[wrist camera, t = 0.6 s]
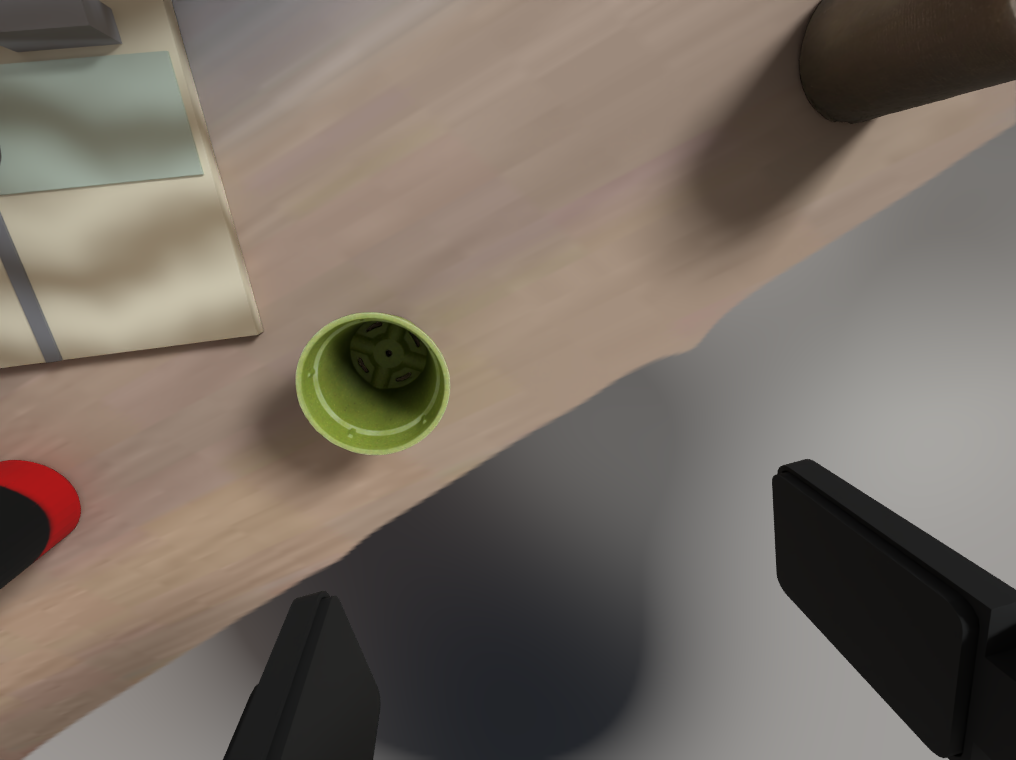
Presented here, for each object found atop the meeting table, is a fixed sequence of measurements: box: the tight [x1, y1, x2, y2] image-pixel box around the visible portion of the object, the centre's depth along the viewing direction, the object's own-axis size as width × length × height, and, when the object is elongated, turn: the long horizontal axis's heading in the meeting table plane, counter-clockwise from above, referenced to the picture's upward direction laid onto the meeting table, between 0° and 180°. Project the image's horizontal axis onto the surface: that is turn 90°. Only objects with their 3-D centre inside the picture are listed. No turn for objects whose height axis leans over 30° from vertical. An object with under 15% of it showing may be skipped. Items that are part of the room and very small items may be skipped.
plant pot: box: [295, 312, 450, 455], centre depth 34 cm, size 9×9×9 cm
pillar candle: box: [800, 0, 1016, 123], centre depth 28 cm, size 10×10×15 cm
